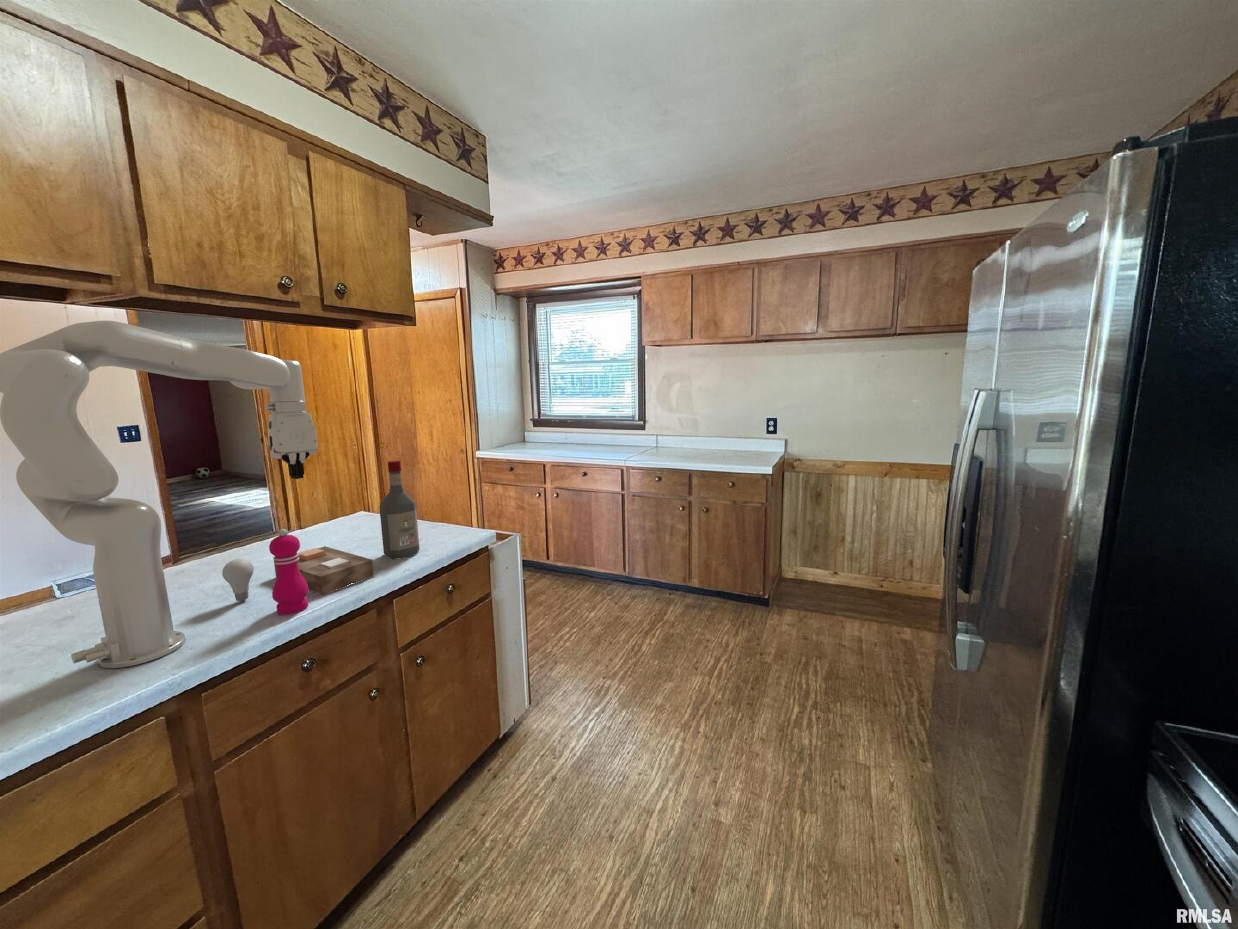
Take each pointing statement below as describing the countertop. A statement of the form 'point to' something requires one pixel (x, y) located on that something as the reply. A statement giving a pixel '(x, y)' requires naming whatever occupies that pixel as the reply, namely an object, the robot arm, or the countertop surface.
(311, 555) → the orange cube
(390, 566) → the countertop surface
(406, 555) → the liquor
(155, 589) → the robot arm
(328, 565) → the white cube
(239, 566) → the lightbulb
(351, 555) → the block
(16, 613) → the countertop surface
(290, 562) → the pepper mill
